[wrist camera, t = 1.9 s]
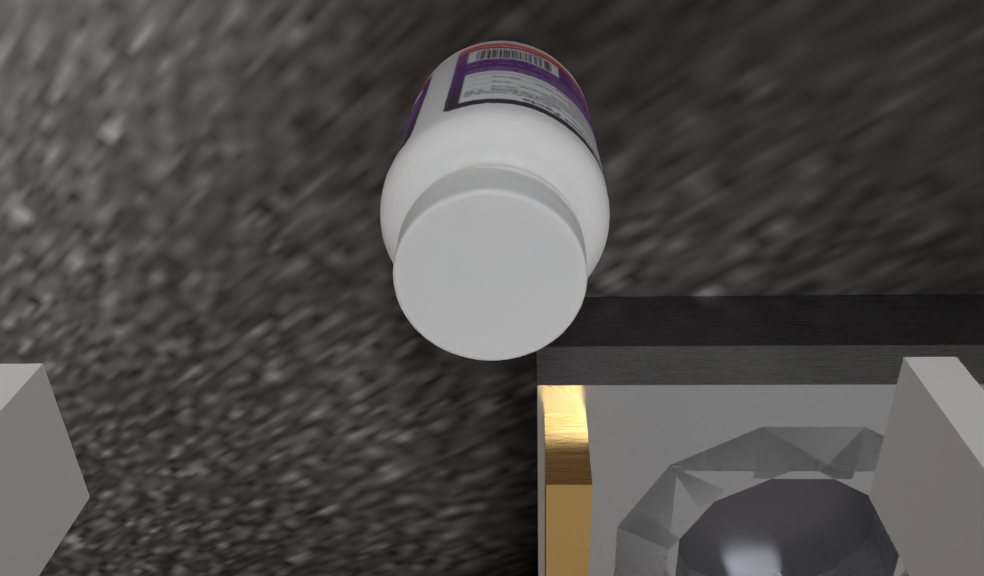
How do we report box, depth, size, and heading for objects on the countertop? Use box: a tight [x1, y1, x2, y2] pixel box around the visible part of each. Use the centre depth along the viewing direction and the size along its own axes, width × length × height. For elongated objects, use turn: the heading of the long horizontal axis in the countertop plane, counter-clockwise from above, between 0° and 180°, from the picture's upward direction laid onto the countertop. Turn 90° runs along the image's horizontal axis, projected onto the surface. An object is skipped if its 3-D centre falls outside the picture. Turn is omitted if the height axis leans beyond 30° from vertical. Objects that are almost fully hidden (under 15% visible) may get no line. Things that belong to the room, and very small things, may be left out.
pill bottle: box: [380, 41, 610, 361], centre depth 21 cm, size 5×5×10 cm
